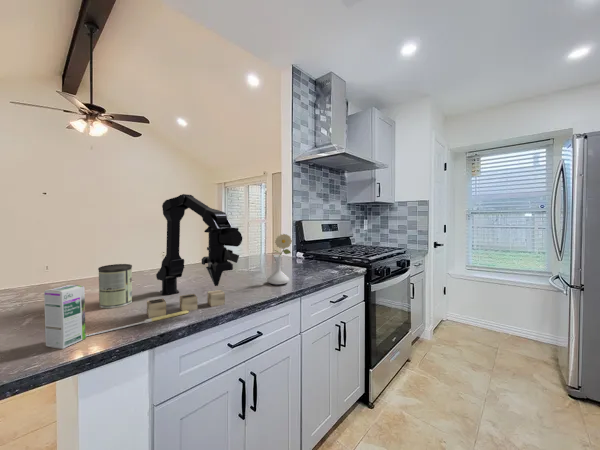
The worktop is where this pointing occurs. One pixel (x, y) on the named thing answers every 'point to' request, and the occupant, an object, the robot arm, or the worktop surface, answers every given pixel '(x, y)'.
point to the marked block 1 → (156, 308)
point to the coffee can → (115, 285)
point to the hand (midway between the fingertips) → (216, 285)
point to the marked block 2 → (188, 302)
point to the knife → (147, 321)
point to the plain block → (216, 298)
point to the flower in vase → (278, 275)
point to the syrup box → (64, 316)
